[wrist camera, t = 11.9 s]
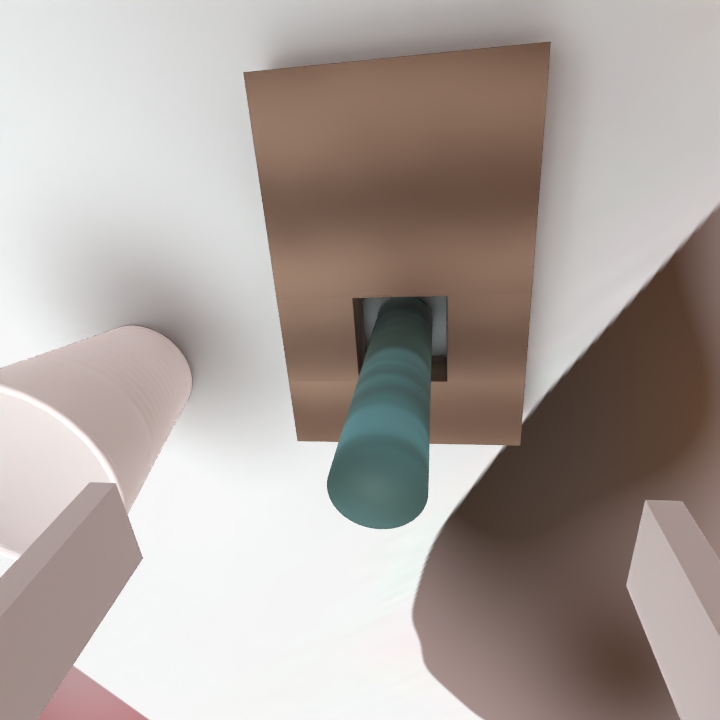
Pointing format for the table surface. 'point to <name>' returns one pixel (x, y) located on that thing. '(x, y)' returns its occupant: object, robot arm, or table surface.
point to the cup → (84, 424)
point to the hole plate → (405, 222)
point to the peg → (388, 423)
